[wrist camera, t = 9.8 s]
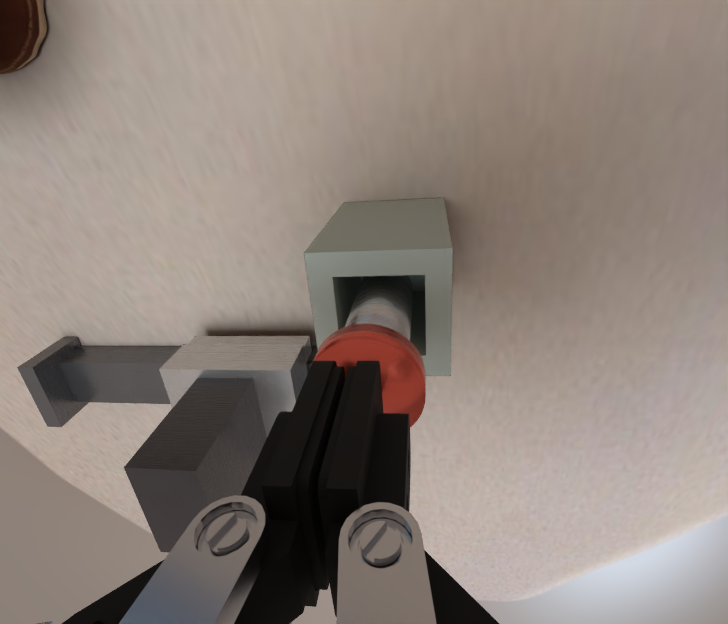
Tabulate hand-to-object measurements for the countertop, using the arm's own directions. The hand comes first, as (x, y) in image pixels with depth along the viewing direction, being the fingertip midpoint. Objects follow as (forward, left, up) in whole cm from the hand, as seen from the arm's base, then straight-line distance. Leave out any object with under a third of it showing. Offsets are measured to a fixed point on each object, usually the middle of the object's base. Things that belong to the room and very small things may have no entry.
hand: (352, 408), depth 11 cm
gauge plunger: (0, 0, -8) cm, 8 cm away
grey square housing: (0, 0, -13) cm, 13 cm away
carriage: (+8, +7, -13) cm, 17 cm away
